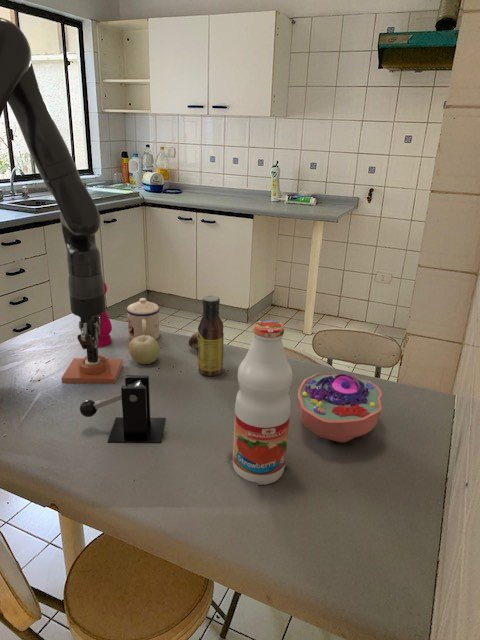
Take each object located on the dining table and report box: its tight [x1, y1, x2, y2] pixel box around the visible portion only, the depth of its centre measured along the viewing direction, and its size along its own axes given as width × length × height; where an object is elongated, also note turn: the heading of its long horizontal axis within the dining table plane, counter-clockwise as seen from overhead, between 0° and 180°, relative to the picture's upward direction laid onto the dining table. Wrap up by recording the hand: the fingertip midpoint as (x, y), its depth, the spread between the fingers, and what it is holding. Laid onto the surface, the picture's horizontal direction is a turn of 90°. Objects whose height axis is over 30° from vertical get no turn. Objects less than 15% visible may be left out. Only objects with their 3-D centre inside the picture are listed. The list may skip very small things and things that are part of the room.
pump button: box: [85, 358, 101, 366], centre depth 110 cm, size 4×4×2 cm
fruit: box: [128, 334, 160, 365], centre depth 118 cm, size 8×7×8 cm
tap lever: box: [79, 380, 144, 418], centre depth 88 cm, size 13×3×3 cm, turn 92°
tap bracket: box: [107, 374, 166, 444], centre depth 89 cm, size 10×8×12 cm
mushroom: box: [188, 331, 198, 350], centre depth 126 cm, size 8×8×6 cm
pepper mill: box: [97, 281, 113, 348], centre depth 125 cm, size 7×7×20 cm
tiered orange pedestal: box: [60, 354, 124, 385], centre depth 111 cm, size 12×10×4 cm
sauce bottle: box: [197, 294, 225, 377], centre depth 112 cm, size 7×6×20 cm
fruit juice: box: [232, 319, 294, 486], centre depth 78 cm, size 9×9×28 cm
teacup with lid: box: [126, 297, 160, 341], centre depth 130 cm, size 12×9×12 cm
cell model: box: [296, 372, 383, 444], centre depth 93 cm, size 17×20×11 cm
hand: (93, 360), depth 110 cm, fingers closed
